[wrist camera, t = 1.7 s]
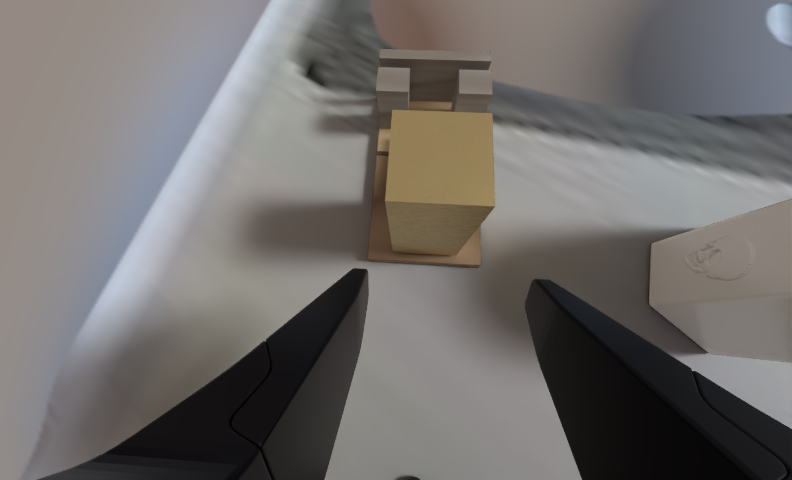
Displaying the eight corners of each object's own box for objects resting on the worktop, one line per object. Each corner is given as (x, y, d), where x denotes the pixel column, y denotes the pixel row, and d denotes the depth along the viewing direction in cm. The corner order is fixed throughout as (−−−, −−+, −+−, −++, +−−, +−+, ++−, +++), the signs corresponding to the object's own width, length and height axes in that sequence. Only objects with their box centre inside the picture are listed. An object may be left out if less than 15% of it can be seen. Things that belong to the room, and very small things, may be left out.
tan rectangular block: (455, 255, 20) (495, 206, 12) (393, 252, 20) (384, 201, 12) (456, 138, 23) (489, 26, 14) (400, 136, 23) (399, 24, 14)
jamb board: (478, 267, 21) (499, 251, 16) (368, 261, 21) (358, 244, 17) (475, 101, 25) (492, 50, 20) (383, 98, 25) (378, 48, 21)
